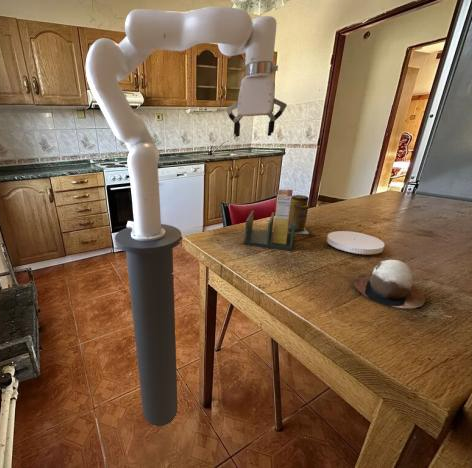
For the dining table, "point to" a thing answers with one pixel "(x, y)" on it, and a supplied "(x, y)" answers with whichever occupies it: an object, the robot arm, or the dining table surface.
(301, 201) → the condiment
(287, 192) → the candy box
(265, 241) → the rack
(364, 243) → the plastic lid
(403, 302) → the bowler hat
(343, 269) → the dining table surface
